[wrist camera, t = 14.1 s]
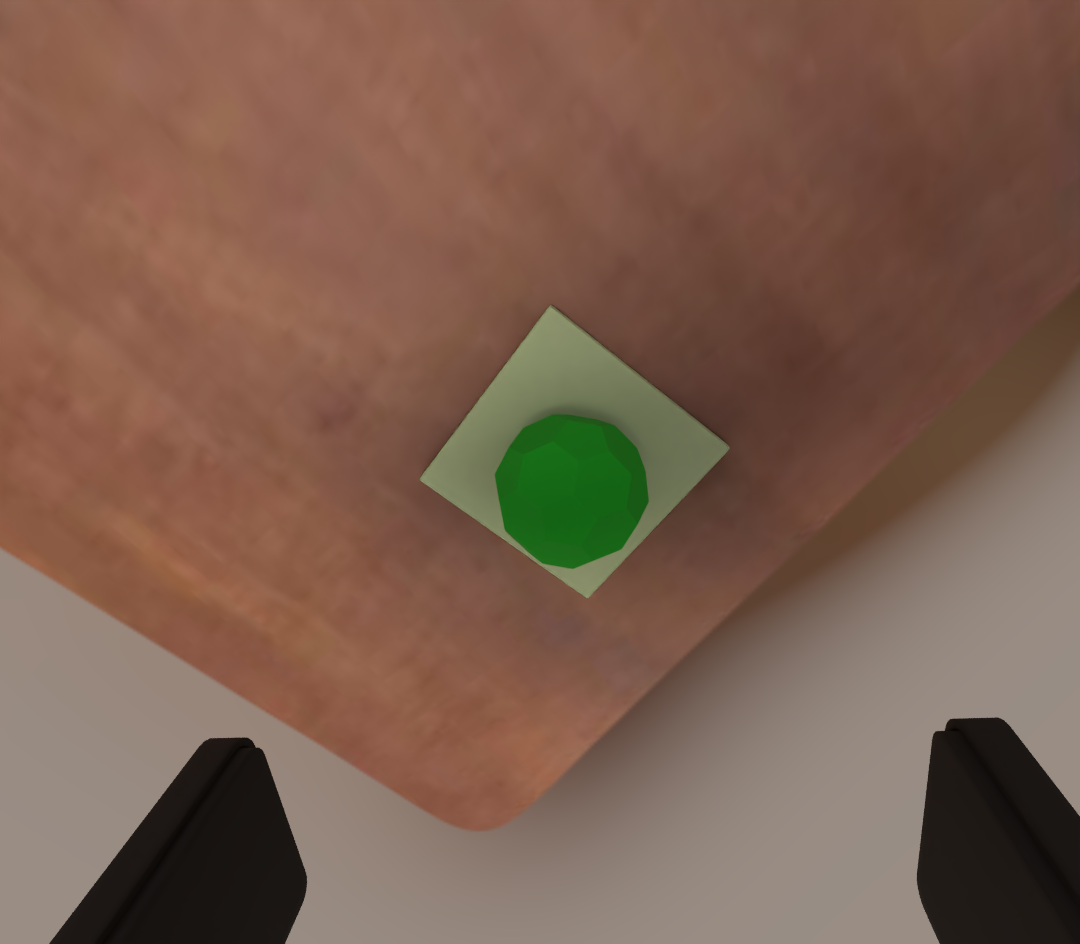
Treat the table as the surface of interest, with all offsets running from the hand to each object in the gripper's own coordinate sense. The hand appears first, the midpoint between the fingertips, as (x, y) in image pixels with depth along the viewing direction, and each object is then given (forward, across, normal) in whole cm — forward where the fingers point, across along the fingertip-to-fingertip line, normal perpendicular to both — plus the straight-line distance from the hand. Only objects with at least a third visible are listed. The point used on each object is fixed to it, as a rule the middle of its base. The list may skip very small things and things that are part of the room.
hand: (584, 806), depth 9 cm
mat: (+16, +1, +1) cm, 16 cm away
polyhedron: (+16, +1, +1) cm, 16 cm away
